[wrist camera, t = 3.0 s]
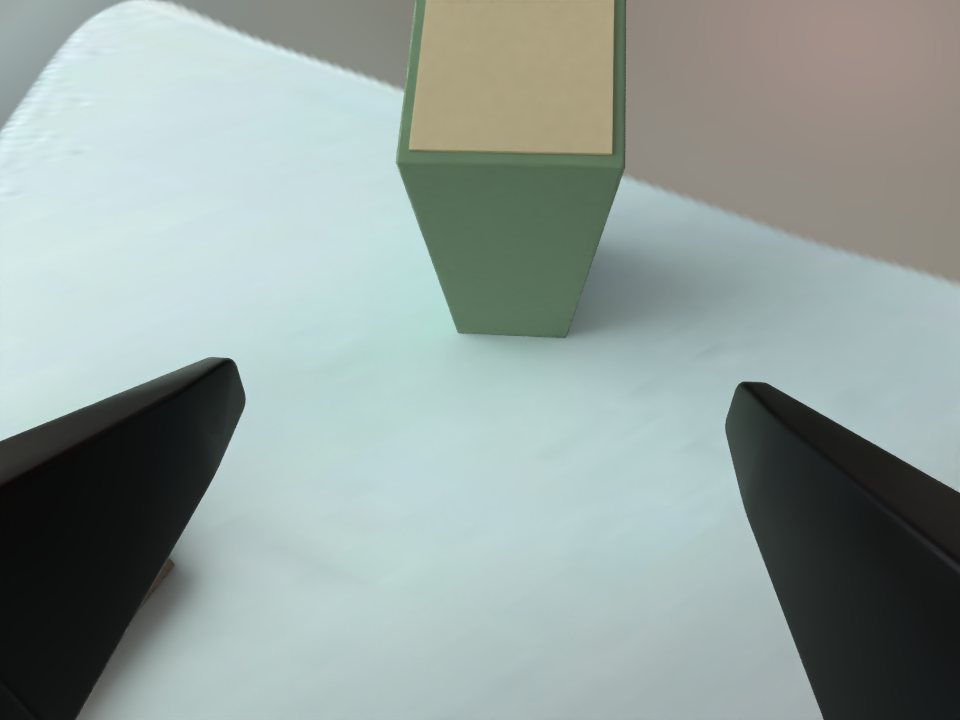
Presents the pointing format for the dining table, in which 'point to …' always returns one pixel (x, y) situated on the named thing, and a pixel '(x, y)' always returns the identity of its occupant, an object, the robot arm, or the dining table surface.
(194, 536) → the dining table surface
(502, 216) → the green tall block
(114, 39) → the dining table surface
